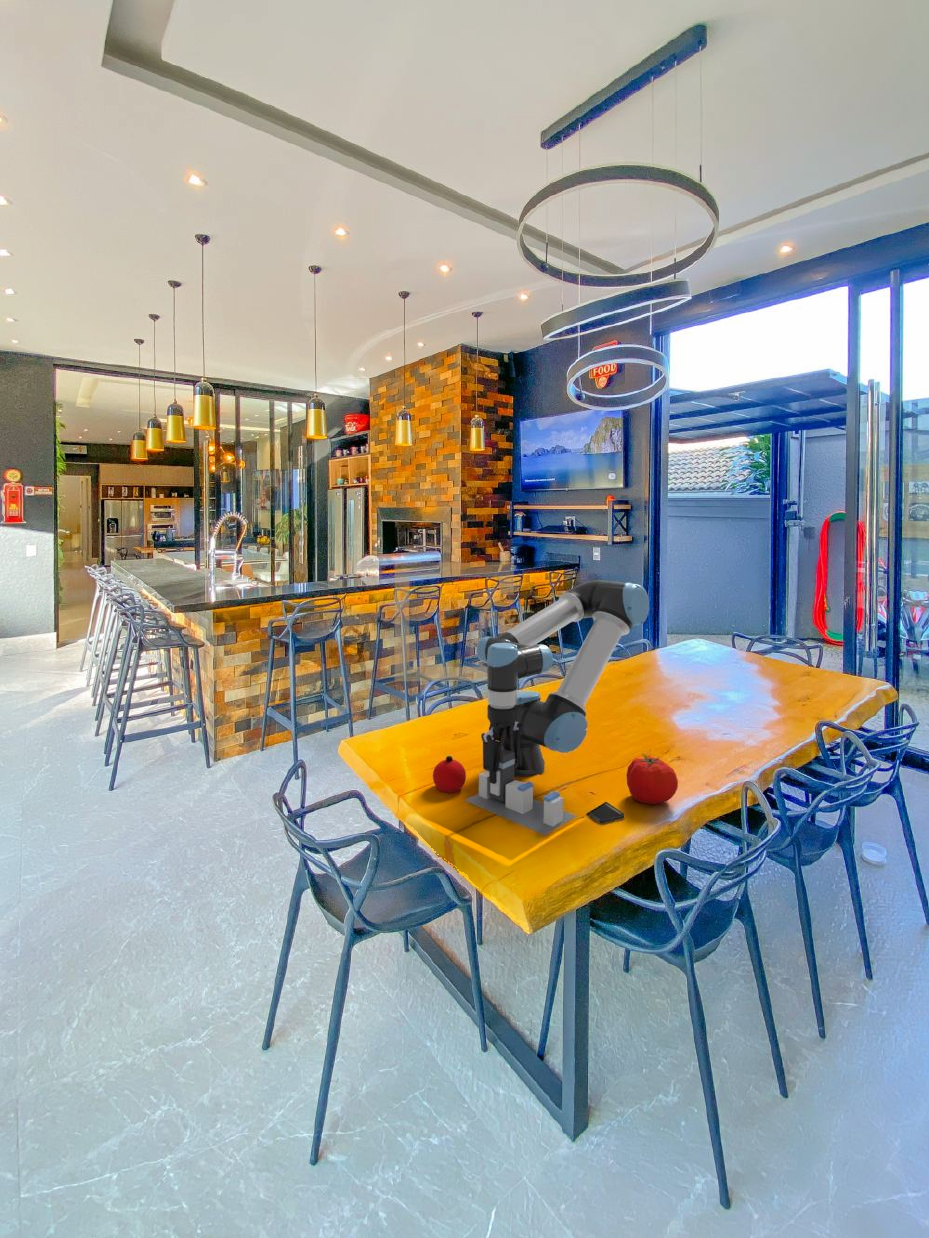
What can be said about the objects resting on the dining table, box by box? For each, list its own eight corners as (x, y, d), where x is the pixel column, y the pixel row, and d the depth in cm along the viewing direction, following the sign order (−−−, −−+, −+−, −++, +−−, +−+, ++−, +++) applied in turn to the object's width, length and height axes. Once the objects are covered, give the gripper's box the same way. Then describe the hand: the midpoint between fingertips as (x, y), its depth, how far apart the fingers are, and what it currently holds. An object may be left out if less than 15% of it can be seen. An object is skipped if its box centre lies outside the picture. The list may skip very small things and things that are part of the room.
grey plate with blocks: (497, 788, 176) (497, 761, 175) (576, 819, 158) (577, 790, 157) (464, 803, 167) (464, 775, 166) (544, 839, 149) (545, 807, 148)
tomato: (637, 785, 178) (639, 746, 176) (684, 799, 169) (686, 758, 167) (616, 800, 169) (618, 759, 167) (664, 816, 160) (667, 773, 158)
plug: (500, 790, 170) (501, 747, 168) (514, 795, 167) (514, 752, 164) (489, 796, 166) (489, 752, 164) (502, 801, 163) (503, 757, 161)
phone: (590, 791, 173) (626, 815, 159) (590, 795, 173) (626, 819, 159) (566, 796, 169) (600, 821, 156) (565, 800, 170) (600, 825, 156)
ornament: (472, 789, 175) (472, 754, 174) (453, 801, 168) (453, 765, 166) (445, 781, 180) (445, 747, 179) (426, 793, 173) (425, 758, 171)
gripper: (512, 693, 171) (512, 776, 175) (467, 709, 158) (468, 797, 163) (535, 699, 166) (534, 784, 170) (490, 716, 153) (490, 806, 157)
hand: (501, 790), depth 166 cm, fingers closed on plug, 4 cm apart
